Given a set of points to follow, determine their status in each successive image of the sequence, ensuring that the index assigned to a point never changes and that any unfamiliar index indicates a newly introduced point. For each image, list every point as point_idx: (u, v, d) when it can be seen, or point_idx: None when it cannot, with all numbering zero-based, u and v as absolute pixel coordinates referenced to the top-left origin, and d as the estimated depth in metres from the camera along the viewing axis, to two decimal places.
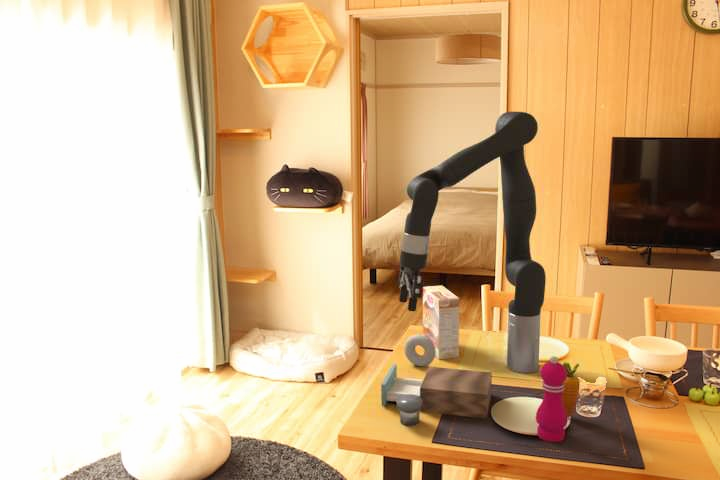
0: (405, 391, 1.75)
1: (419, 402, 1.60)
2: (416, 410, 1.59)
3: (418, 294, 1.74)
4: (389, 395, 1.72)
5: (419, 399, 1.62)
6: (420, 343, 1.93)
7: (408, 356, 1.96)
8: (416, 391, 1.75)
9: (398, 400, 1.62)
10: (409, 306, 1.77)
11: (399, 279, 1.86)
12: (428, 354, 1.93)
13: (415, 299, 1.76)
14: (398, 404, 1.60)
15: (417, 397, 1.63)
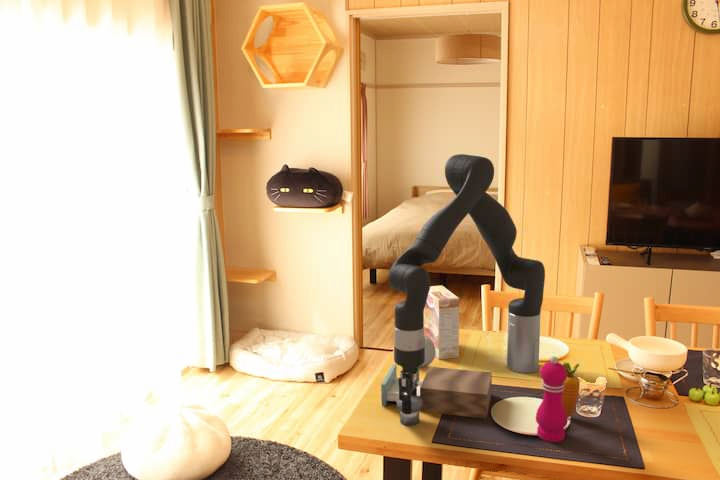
0: None
1: (419, 402, 1.60)
2: (416, 410, 1.59)
3: (405, 398, 1.55)
4: (389, 395, 1.72)
5: (419, 399, 1.62)
6: None
7: None
8: None
9: (398, 400, 1.61)
10: (402, 408, 1.58)
11: None
12: (428, 354, 1.93)
13: (406, 402, 1.57)
14: (398, 404, 1.60)
15: (417, 397, 1.63)
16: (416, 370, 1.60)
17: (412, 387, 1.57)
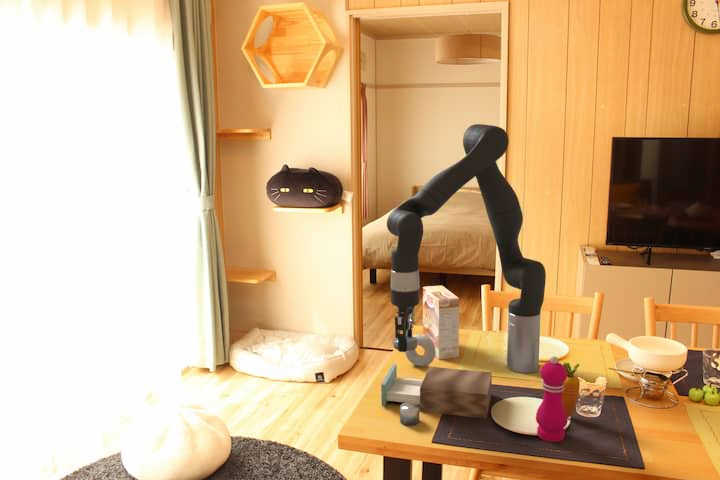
0: (405, 391, 1.75)
1: (414, 341, 1.71)
2: (411, 348, 1.70)
3: (401, 335, 1.66)
4: (389, 395, 1.72)
5: (414, 339, 1.73)
6: (420, 343, 1.94)
7: (408, 356, 1.96)
8: (416, 391, 1.75)
9: (394, 340, 1.73)
10: (398, 346, 1.69)
11: None
12: (428, 354, 1.93)
13: (402, 340, 1.68)
14: (394, 343, 1.71)
15: (412, 338, 1.74)
16: (411, 311, 1.71)
17: (407, 326, 1.68)
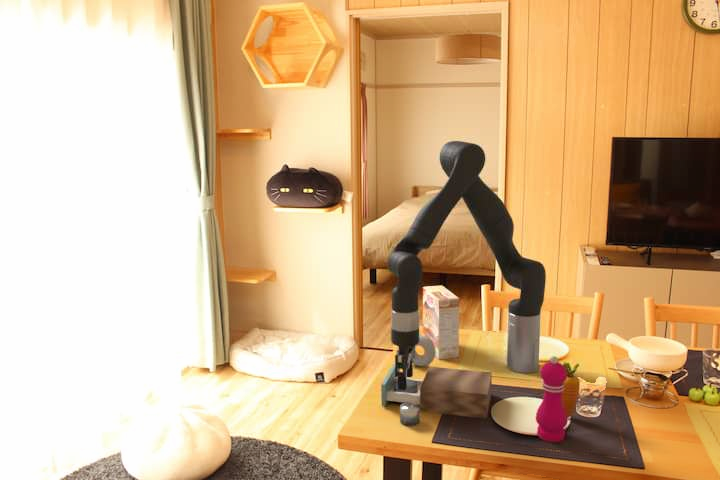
0: None
1: (414, 386, 1.74)
2: None
3: (401, 374, 1.68)
4: (389, 395, 1.72)
5: (414, 383, 1.75)
6: (420, 343, 1.94)
7: None
8: None
9: (395, 384, 1.75)
10: (398, 384, 1.71)
11: None
12: (428, 353, 1.93)
13: (402, 378, 1.69)
14: (395, 388, 1.74)
15: (412, 381, 1.77)
16: (411, 350, 1.74)
17: (407, 364, 1.70)
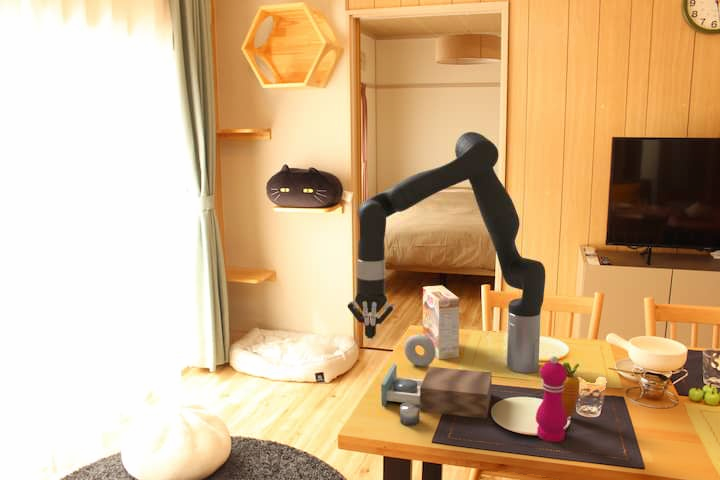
0: None
1: (414, 385, 1.74)
2: (412, 392, 1.73)
3: None
4: (389, 395, 1.72)
5: (414, 382, 1.76)
6: (420, 343, 1.93)
7: (408, 356, 1.96)
8: None
9: (395, 384, 1.75)
10: None
11: None
12: (428, 354, 1.93)
13: None
14: (395, 387, 1.74)
15: (412, 381, 1.77)
16: (373, 302, 1.72)
17: None
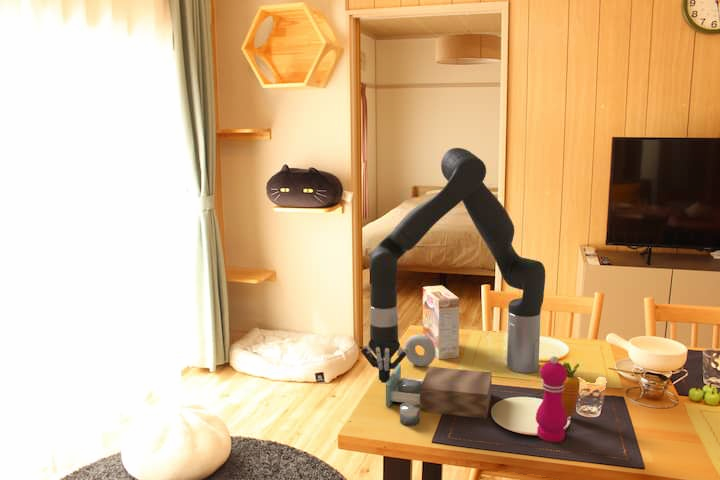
0: None
1: (419, 385, 1.74)
2: (418, 392, 1.73)
3: None
4: (393, 395, 1.71)
5: (418, 382, 1.76)
6: (420, 343, 1.93)
7: (408, 356, 1.96)
8: None
9: (400, 385, 1.74)
10: None
11: None
12: (428, 354, 1.93)
13: None
14: (401, 388, 1.73)
15: (415, 381, 1.77)
16: (385, 347, 1.73)
17: None
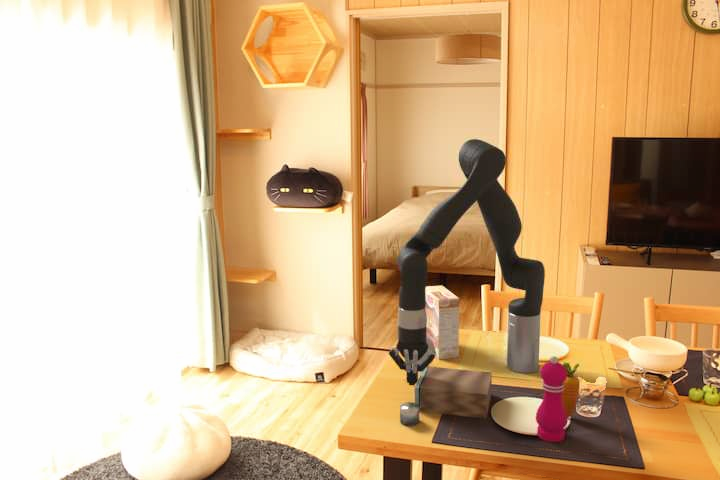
0: None
1: None
2: None
3: None
4: None
5: None
6: None
7: None
8: None
9: None
10: None
11: (424, 362, 1.74)
12: None
13: None
14: None
15: None
16: (414, 350, 1.71)
17: (405, 361, 1.73)
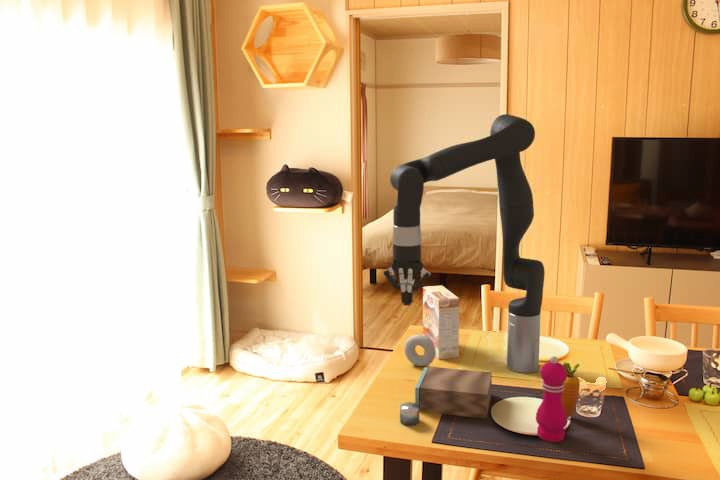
0: None
1: None
2: None
3: None
4: None
5: None
6: (420, 343, 1.93)
7: (408, 356, 1.96)
8: None
9: None
10: None
11: None
12: (428, 354, 1.93)
13: None
14: None
15: None
16: (409, 268, 1.71)
17: None
